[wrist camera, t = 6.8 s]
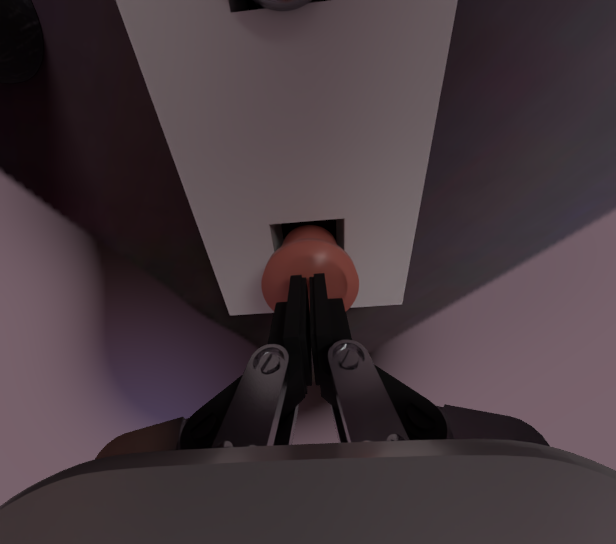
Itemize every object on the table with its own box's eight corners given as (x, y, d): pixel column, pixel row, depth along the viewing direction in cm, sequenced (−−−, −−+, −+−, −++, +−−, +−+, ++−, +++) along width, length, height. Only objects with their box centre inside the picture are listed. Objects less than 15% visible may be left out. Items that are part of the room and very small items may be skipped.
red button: (266, 219, 14) (251, 248, 10) (346, 212, 14) (361, 240, 10) (279, 284, 17) (270, 327, 13) (345, 279, 17) (357, 321, 13)
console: (119, -163, 10) (-29, -400, 5) (438, -214, 9) (554, -527, 5) (244, 281, 22) (229, 315, 18) (383, 271, 22) (402, 304, 17)
